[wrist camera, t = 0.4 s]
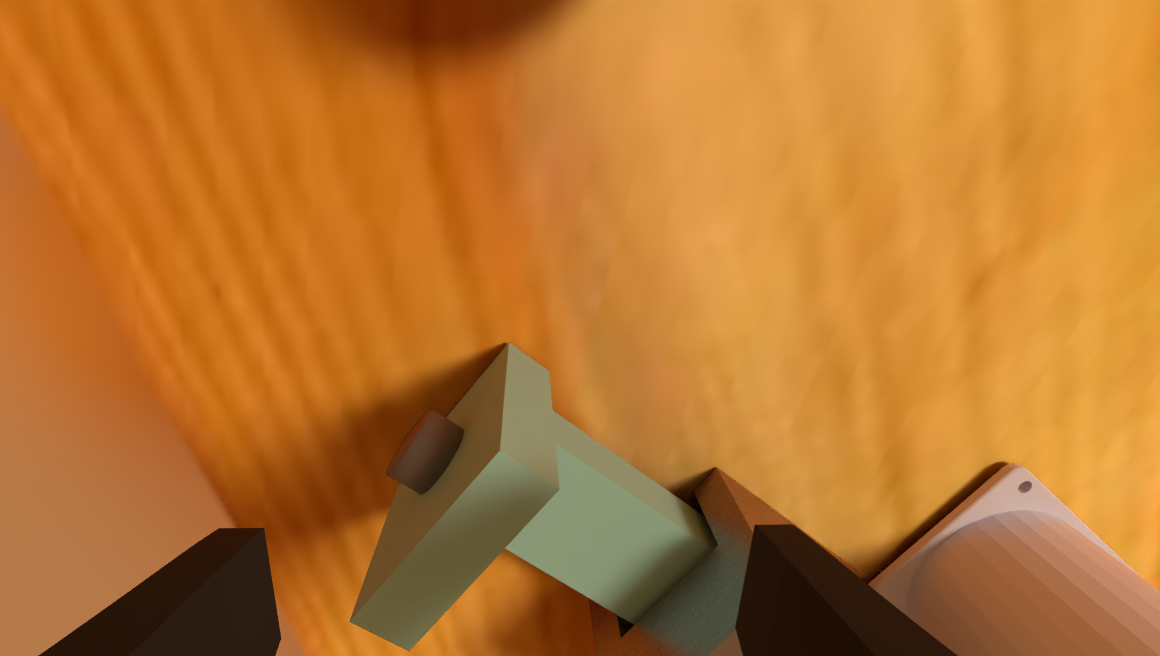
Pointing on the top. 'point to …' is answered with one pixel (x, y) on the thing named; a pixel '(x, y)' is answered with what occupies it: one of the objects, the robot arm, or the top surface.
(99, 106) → the top surface
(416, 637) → the handle
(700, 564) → the block
